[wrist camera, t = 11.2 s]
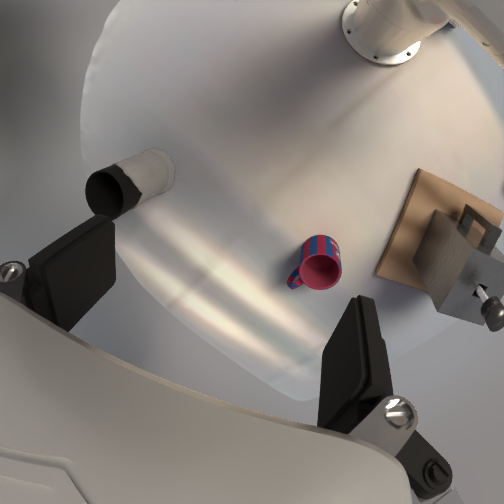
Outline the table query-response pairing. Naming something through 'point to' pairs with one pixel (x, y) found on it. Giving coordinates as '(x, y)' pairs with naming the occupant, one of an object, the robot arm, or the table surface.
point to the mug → (318, 264)
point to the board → (426, 224)
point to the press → (460, 263)
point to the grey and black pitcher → (129, 183)
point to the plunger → (491, 310)
